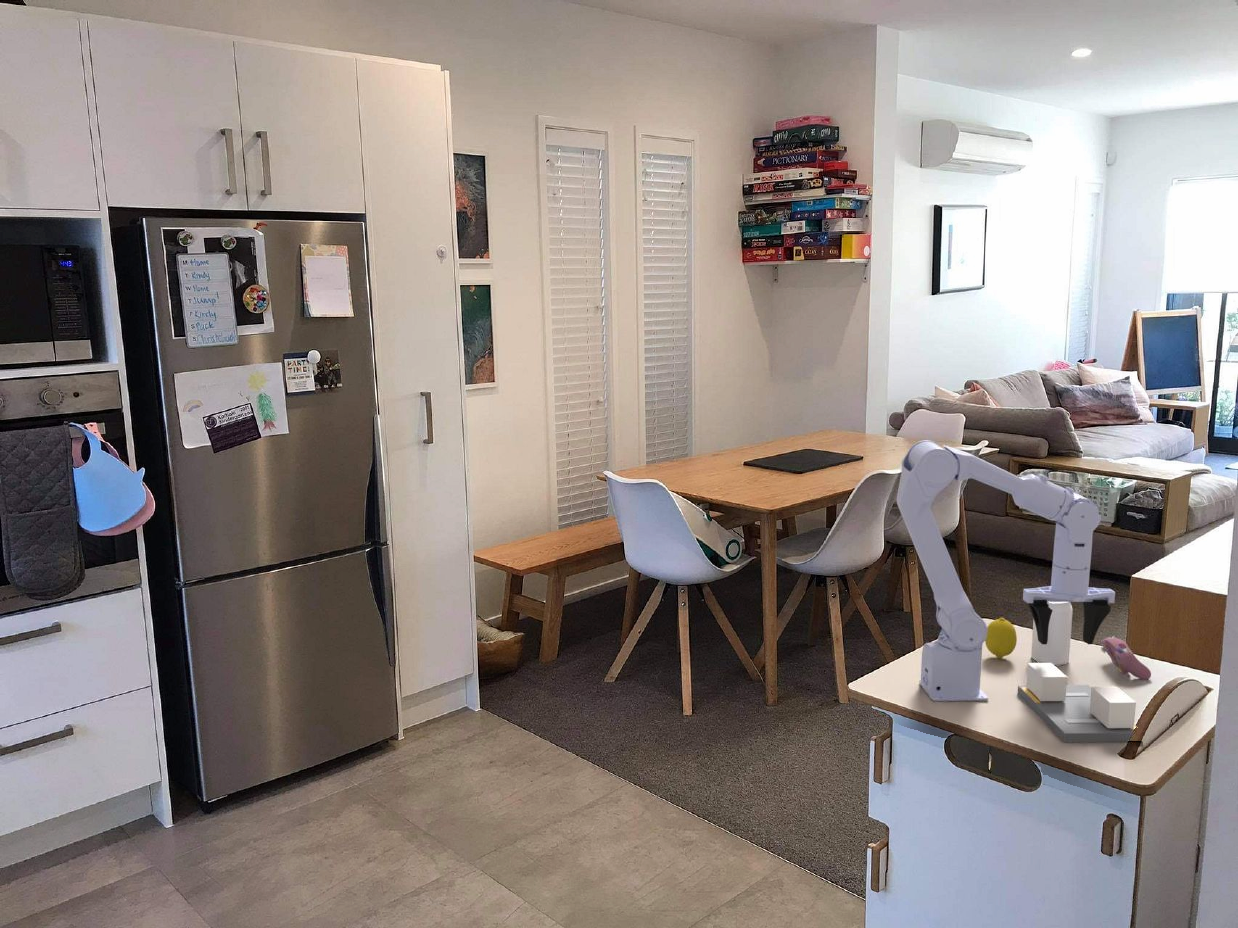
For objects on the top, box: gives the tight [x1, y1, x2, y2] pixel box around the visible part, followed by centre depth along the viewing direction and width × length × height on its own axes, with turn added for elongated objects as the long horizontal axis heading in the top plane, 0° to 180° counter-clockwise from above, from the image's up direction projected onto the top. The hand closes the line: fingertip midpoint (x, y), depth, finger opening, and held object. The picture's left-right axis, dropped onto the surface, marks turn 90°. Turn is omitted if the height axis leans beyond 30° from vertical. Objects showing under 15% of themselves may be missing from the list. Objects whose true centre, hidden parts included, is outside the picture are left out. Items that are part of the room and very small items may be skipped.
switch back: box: [1025, 662, 1068, 701], centre depth 163 cm, size 4×6×4 cm, turn 0°
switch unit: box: [1017, 684, 1137, 743], centre depth 159 cm, size 12×18×2 cm, turn 0°
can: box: [1030, 602, 1073, 666], centre depth 181 cm, size 6×6×12 cm
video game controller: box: [1100, 635, 1152, 681], centre depth 177 cm, size 10×5×7 cm, turn 175°
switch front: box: [1089, 686, 1137, 728], centre depth 153 cm, size 4×6×4 cm, turn 0°
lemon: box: [984, 617, 1018, 659], centre depth 183 cm, size 6×6×8 cm
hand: (1065, 642), depth 166 cm, fingers open, 7 cm apart
